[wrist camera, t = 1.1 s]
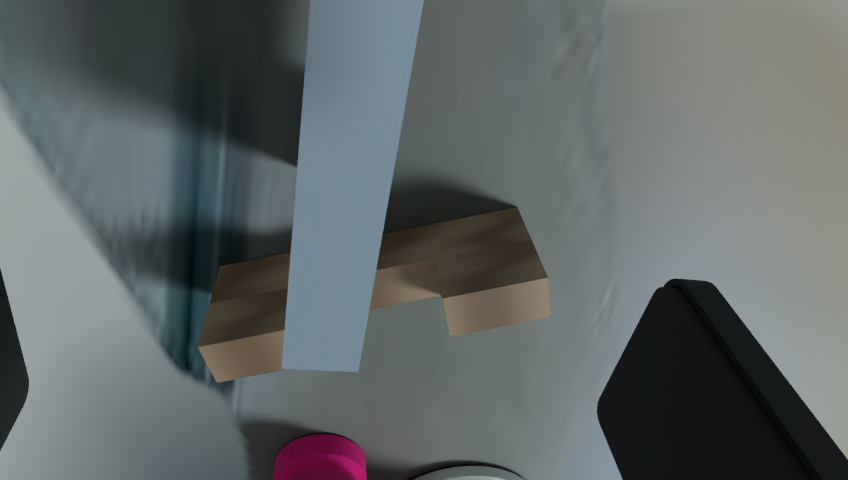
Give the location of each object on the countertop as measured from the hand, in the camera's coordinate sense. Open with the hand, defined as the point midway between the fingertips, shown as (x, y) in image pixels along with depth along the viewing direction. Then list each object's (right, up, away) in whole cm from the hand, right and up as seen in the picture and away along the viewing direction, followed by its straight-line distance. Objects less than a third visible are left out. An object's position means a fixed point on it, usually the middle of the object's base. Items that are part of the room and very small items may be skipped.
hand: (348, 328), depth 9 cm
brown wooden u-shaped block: (-2, +1, +24) cm, 24 cm away
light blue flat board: (-2, +11, +17) cm, 20 cm away
